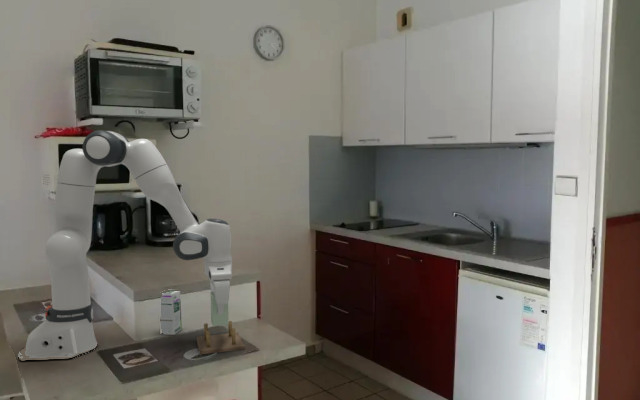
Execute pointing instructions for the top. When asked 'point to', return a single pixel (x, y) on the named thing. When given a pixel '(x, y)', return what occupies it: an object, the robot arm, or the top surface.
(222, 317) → the green block
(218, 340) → the standoff base
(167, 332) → the syrup box
